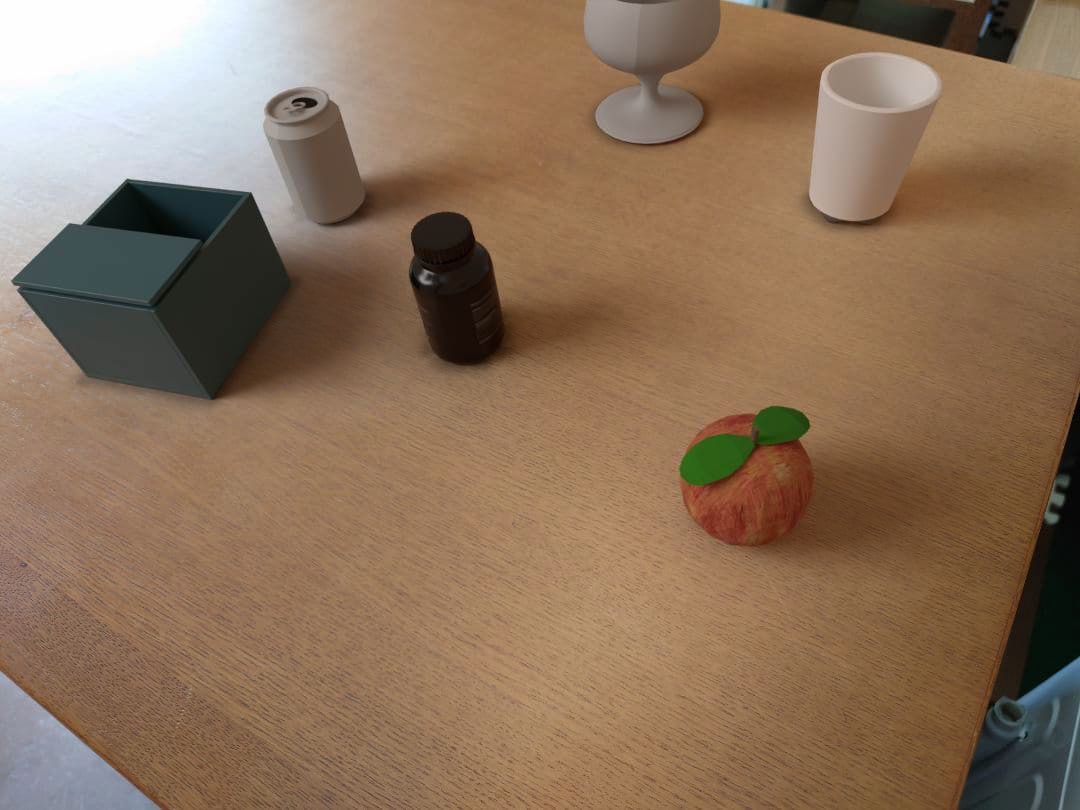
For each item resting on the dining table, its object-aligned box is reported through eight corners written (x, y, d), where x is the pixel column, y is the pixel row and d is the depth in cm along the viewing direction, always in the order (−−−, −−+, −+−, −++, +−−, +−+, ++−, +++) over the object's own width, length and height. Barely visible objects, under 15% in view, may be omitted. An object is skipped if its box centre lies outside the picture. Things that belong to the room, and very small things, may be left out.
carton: (211, 399, 66) (154, 311, 58) (87, 377, 70) (15, 290, 61) (292, 282, 75) (251, 192, 67) (178, 267, 78) (126, 178, 70)
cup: (906, 240, 72) (950, 113, 62) (795, 233, 74) (821, 109, 64) (897, 176, 78) (937, 51, 68) (795, 171, 80) (819, 50, 70)
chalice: (695, 159, 82) (707, 15, 71) (571, 143, 86) (562, 4, 75) (723, 91, 90) (737, -48, 79) (607, 79, 94) (605, -56, 83)
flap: (151, 307, 58) (148, 302, 58) (14, 285, 61) (10, 281, 61) (203, 244, 62) (200, 239, 62) (72, 227, 65) (69, 222, 65)
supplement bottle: (491, 302, 71) (471, 192, 62) (516, 352, 67) (498, 242, 58) (420, 325, 70) (388, 217, 61) (440, 377, 66) (410, 269, 57)
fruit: (829, 541, 53) (864, 457, 46) (703, 589, 52) (717, 511, 44) (765, 447, 59) (786, 358, 51) (649, 488, 57) (652, 403, 49)
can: (381, 193, 83) (350, 88, 74) (339, 235, 79) (301, 129, 70) (326, 179, 86) (290, 75, 77) (283, 219, 82) (239, 114, 73)
